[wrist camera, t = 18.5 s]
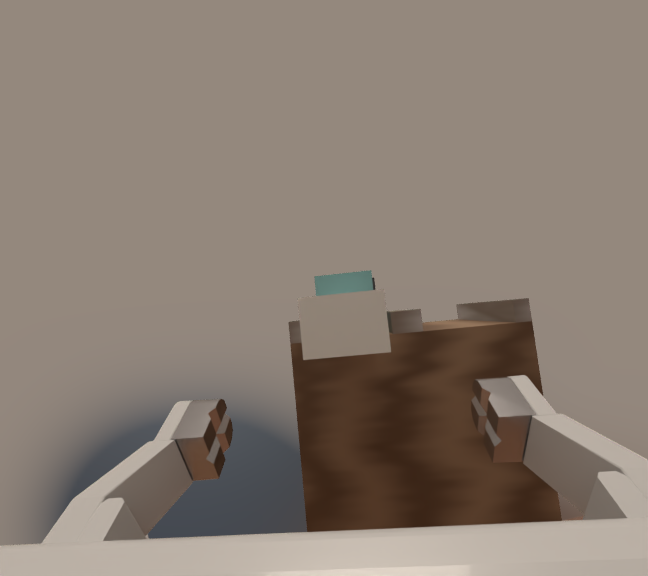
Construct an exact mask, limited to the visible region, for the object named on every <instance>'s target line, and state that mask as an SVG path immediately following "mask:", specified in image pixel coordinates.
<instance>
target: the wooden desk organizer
mask: <svg viewBox="0 0 648 576" xmlns="http://www.w3.org/2000/svg"><path fill="white" fill-rule="evenodd" d="M372 283H373V290H375V282H374V278H372ZM457 313H458V319H456V320H446V321H435V322H425V323H422V317H421V309H412V310H396V311H387V319H388V328H389V337H390V346H391V352H388V353H377V354H365V355H354V356H343V357H332V358H321V359H309V360H303V352H302V341H301V330H300V320H299V321H292V322H289V331H290V342H291V354H292V365H293V377H294V387H295V399H296V409H297V421H298V431H299V443H300V455H301V466H302V475H303V488H304V499H305V509H306V521H307V532H322V531H345V530H368V529H392V528H414V527H436V526H458V525H480V524H503V523H526V522H549V521H562V519H561V512H560V506H559V499H558V492H557V491H555V490H554V489H553V488H552V487H551V486H549V485H548V484H547V483H546V482H545V481H543V480H542V479H541V478H540V477H539V476H538V475H536V474H535V473H534V472H533V471H532V470H530V469H529V468H528V467H527V466H526V465H524V464H523V462H502V463H493V462H492V460H491V458H490V456H489V454H488V452H487V450H486V448H485V446H484V435H482V434H481V433H480V432H478V431H477V429H476V426H475V424H474V421H473V418H472V412H471V400H472V399H473V398H474V397H475V394H474V392H473V390H472V387H473V382H474V380H476V379H488V378H499V377H509V376H519V375H525V376H527V377H528V378H529V379H530V381H531V382H532V383H533V384H534V386H535V387H536V388H537V389H538V391H539V392H540V393H541V394H542V396H543V392H542V385H541V378H540V371H539V365H538V358H537V351H536V346H535V338H534V331H533V325H532V318H531V311H530V305H529V299H528V298H526V299H514V300H502V301H490V302H478V303H468V304H457Z"/></svg>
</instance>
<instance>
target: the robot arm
mask: <svg viewBox="0 0 648 576" xmlns="http://www.w3.org/2000/svg"><path fill="white" fill-rule="evenodd" d="M472 390H473V392H474V394H475V397H474V398H473V399H472V400H471V412H472V418H473V421H474V424H475V426H476V429H477V431H478V432H480V433H481V434H482V435H484V446H485V448H486V450H487V452H488V454H489V456H490V458H491V460H492V462H493V463H502V462H523V464H524V465H526V466H527V467H528V468H529V469H530V470H532V471H533V472H534V473H535V474H536V475H538V476H539V477H540V478H541V479H542V480H543V481H545V482H546V483H547V484H548V485H549V486H551V487H552V488H553V489H554V490H555V491H557V492H558V493H559V494H560V495H561V496H562V497H564V498H565V499H566V500H567V501H568V502H570V503H571V504H572V505H573V506H575V507H576V508H577V509H578V510H579V511H580V512H581V513H583V514H584V517H583V520H572V521H549V522H526V523H503V524H480V525H458V526H436V527H414V528H392V529H368V530H345V531H322V532H299V533H276V534H252V535H229V536H207V537H184V538H162V539H147V538H146V537H145V536H146V535H147V534H148V533H149V531H150V530H151V529H152V528H153V527H154V525H156V523H157V522H158V521H159V520H160V519H161V518H162V517H163V516H164V514H165V513H166V512H167V511H168V510H169V509H170V507H171V506H172V505H173V504H174V503H175V502H176V501H177V500H178V498H179V497H180V496H181V495H182V494H183V493H184V492H185V491H186V489H187V488H188V487H189V486H190V485H191V484H192V483H193V481H195V480H206V479H218V478H219V477H220V474H221V470H222V468H223V465H224V462H225V457H224V454H223V453H224V452H225V451H226V450H227V449H228V448H229V447H230V443H231V440H232V431H233V429H232V422H231V419H230V417H229V416H227V415H226V414H225V411H226V408H227V407H226V404H225V401H224V400H222V399H211V400H193V401H179V402H178V403H176V404H175V405H174V407H173V409H172V410H171V412H170V414H169V415H168V417H167V419H166V421H165V422H164V424H163V426H162V427H161V429H160V431H159V432H158V434H157V436H156V438H155V439H154V441H150V442H148V443H146V444H145V445H144V446H142V447H141V448H140V449H139V450H137V451H136V452H134V453H133V454H132V455H130V456H129V457H128V458H127V459H125V460H124V461H123V462H121V463H120V464H119V465H117V466H116V467H115V468H113V469H112V470H111V471H109V472H108V473H107V474H105V475H104V476H103V477H101V478H100V479H99V480H98V481H96V482H95V483H93V484H92V485H91V486H89V487H88V488H87V489H86V490H85V491H83V492H82V493H80V494H79V495H78V496H76V497H75V498H74V499H73V500H72V501H71V503H70V504H69V505H68V507H67V508H66V510H65V511H64V512H63V514H62V515H61V517H60V518H59V520H58V521H57V522H56V524H55V525H54V527H53V528H52V529H51V531H50V532H49V534H48V535H47V536H46V538H45V539H44V541H43V542H42V544H24V545H1V546H0V576H648V459H646V458H644V457H642V456H640V455H638V454H636V453H634V452H633V451H631V450H629V449H627V448H625V447H623V446H621V445H619V444H618V443H616V442H614V441H612V440H610V439H608V438H607V437H605V436H603V435H601V434H599V433H597V432H595V431H593V430H592V429H590V428H588V427H586V426H584V425H582V424H580V423H578V422H576V421H575V420H573V419H571V418H569V417H567V416H565V415H564V414H557V413H556V412H555V411H554V410H553V408H552V407H551V406H550V405H549V403H548V402H547V401H546V400H545V398H544V397H543V396H542V394H541V393H540V392H539V391H538V389H537V388H536V387H535V386H534V384H533V383H532V382H531V381H530V379H529V378H528V377H527V376H525V375H519V376H509V377H499V378H488V379H476V380H474V382H473V387H472Z"/></svg>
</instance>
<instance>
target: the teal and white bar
mask: <svg viewBox="0 0 648 576" xmlns="http://www.w3.org/2000/svg"><path fill="white" fill-rule="evenodd" d="M315 287H316V296H312V297H302V298H298V308H299V319H300V330H301V341H302V352H303V360H309V359H321V358H332V357H343V356H354V355H365V354H377V353H388V352H391V346H390V337H389V328H388V319H387V311H386V302H385V293H384V289H380V290H373V283H372V275H371V271H361V272H352V273H343V274H333V275H324V276H315Z"/></svg>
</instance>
